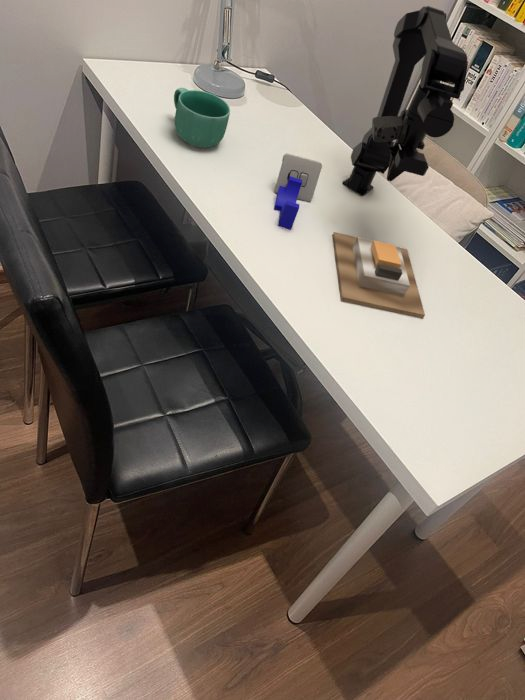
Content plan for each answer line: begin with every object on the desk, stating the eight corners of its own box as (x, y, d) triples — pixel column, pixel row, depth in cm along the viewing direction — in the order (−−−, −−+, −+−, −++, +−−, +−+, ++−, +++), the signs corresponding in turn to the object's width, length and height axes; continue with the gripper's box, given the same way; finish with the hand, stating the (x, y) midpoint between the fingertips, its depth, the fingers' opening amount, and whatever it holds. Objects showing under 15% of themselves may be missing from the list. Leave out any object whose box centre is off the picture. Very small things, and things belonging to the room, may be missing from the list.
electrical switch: (273, 193, 135) (284, 156, 129) (272, 184, 139) (283, 147, 133) (311, 203, 137) (324, 167, 131) (309, 193, 141) (321, 157, 135)
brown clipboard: (332, 235, 130) (341, 213, 125) (405, 252, 133) (416, 231, 129) (340, 300, 115) (352, 278, 111) (422, 318, 118) (436, 297, 114)
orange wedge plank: (370, 246, 123) (373, 240, 122) (392, 251, 124) (395, 245, 123) (376, 265, 118) (379, 259, 117) (398, 270, 119) (401, 264, 118)
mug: (231, 151, 143) (240, 115, 136) (189, 156, 136) (196, 118, 129) (196, 116, 150) (203, 81, 143) (154, 119, 143) (160, 82, 136)
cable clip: (276, 196, 135) (283, 174, 131) (294, 202, 135) (302, 180, 131) (271, 224, 126) (279, 202, 122) (290, 230, 127) (299, 208, 123)
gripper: (378, 83, 120) (350, 150, 131) (391, 124, 108) (359, 194, 119) (426, 97, 123) (395, 162, 134) (445, 139, 110) (408, 207, 121)
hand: (388, 180), depth 127 cm, fingers closed
